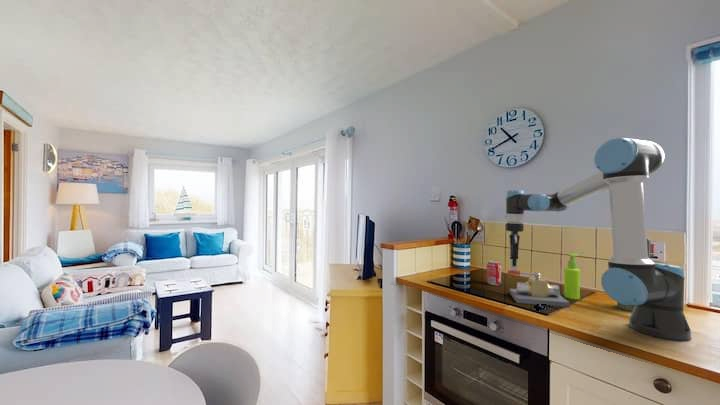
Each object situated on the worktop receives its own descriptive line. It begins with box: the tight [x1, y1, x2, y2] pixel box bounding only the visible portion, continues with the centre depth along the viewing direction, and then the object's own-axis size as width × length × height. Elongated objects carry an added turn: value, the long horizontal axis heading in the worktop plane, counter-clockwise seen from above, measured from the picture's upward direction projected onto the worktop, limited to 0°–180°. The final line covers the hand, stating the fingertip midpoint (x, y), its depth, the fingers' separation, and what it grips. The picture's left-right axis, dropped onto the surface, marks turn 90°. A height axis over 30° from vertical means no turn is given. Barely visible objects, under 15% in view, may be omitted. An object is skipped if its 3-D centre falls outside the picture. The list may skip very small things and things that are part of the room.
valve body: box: [516, 277, 561, 298], centre depth 140 cm, size 6×16×8 cm, turn 75°
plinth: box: [509, 288, 571, 308], centre depth 140 cm, size 16×20×2 cm
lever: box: [507, 269, 542, 278], centre depth 143 cm, size 13×3×2 cm, turn 61°
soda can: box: [486, 260, 502, 286], centre depth 166 cm, size 7×7×12 cm
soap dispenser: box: [563, 253, 583, 300], centre depth 144 cm, size 6×7×20 cm
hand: (513, 272), depth 148 cm, fingers closed
